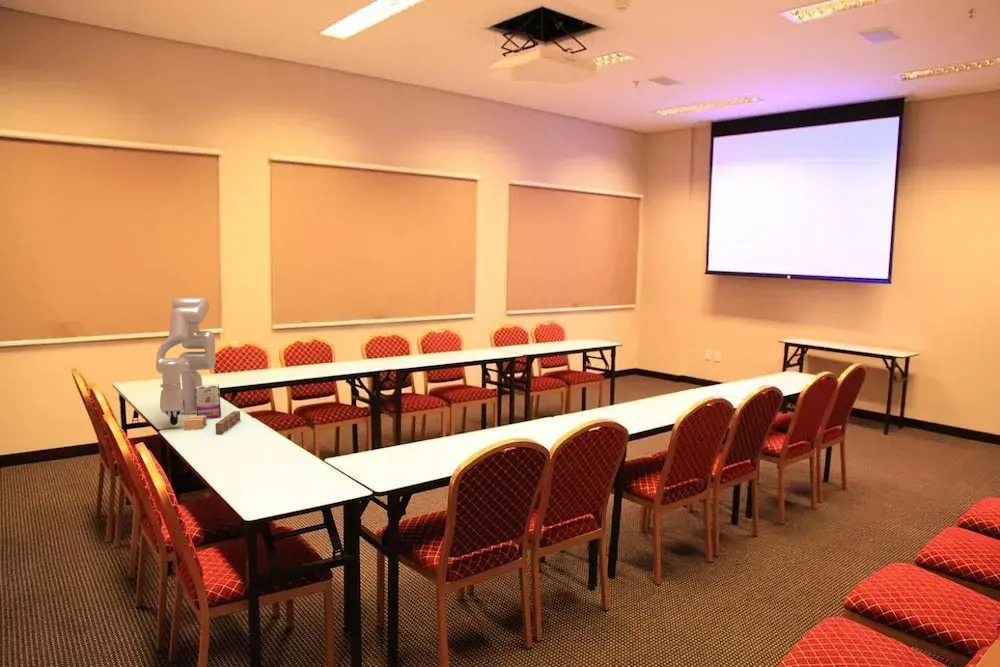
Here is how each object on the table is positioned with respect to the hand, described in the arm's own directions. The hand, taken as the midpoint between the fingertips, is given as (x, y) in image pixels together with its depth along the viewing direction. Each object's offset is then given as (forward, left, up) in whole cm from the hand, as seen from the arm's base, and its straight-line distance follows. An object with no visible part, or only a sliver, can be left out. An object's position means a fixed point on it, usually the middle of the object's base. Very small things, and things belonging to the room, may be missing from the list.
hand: (174, 424), depth 316 cm
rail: (0, +25, -2) cm, 26 cm away
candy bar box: (-19, +9, -2) cm, 21 cm away
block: (0, +10, -2) cm, 10 cm away
